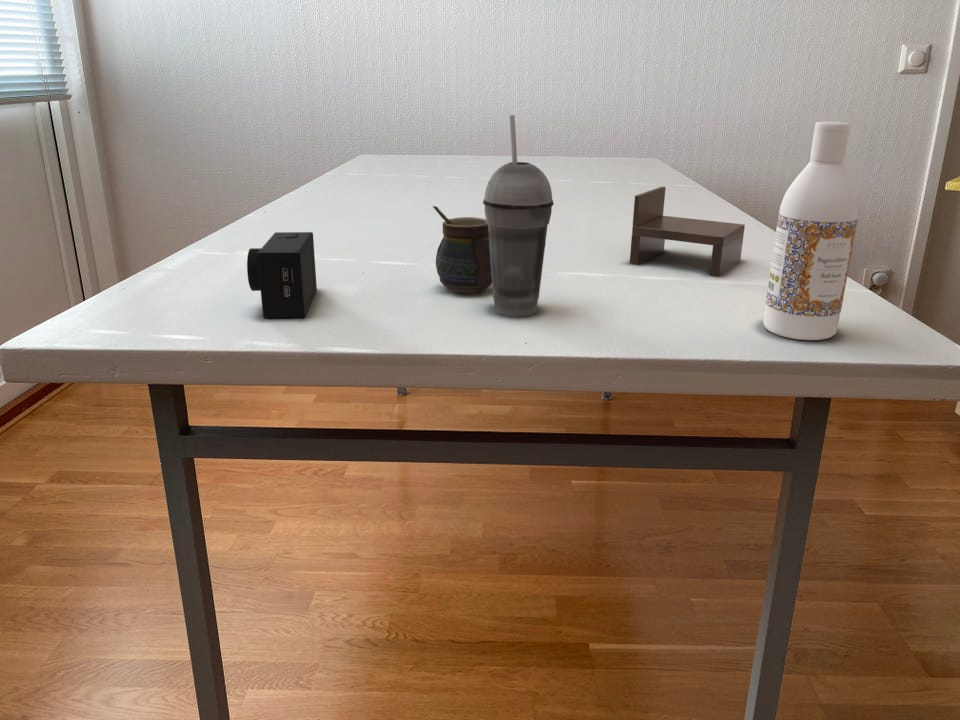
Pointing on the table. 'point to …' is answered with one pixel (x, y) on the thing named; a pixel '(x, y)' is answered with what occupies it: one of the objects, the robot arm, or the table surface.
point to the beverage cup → (517, 232)
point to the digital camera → (284, 274)
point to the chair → (681, 233)
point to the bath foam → (813, 242)
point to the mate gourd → (464, 255)
